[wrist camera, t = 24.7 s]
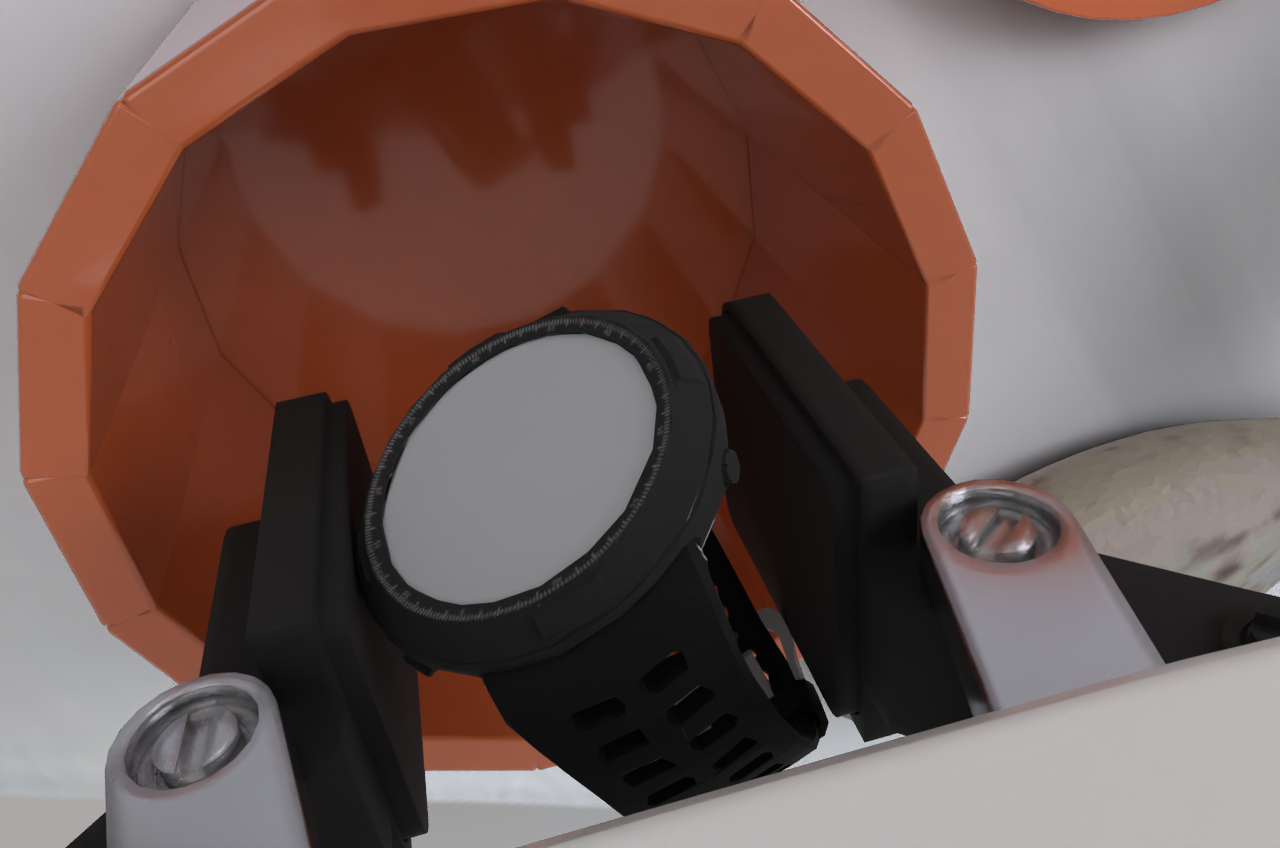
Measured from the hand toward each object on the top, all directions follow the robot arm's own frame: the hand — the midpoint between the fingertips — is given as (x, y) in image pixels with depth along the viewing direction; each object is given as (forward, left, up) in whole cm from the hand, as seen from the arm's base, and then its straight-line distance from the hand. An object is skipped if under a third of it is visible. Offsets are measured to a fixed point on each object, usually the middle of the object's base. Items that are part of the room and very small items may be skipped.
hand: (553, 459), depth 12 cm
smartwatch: (0, 0, -1) cm, 1 cm away
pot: (0, 0, -8) cm, 8 cm away
